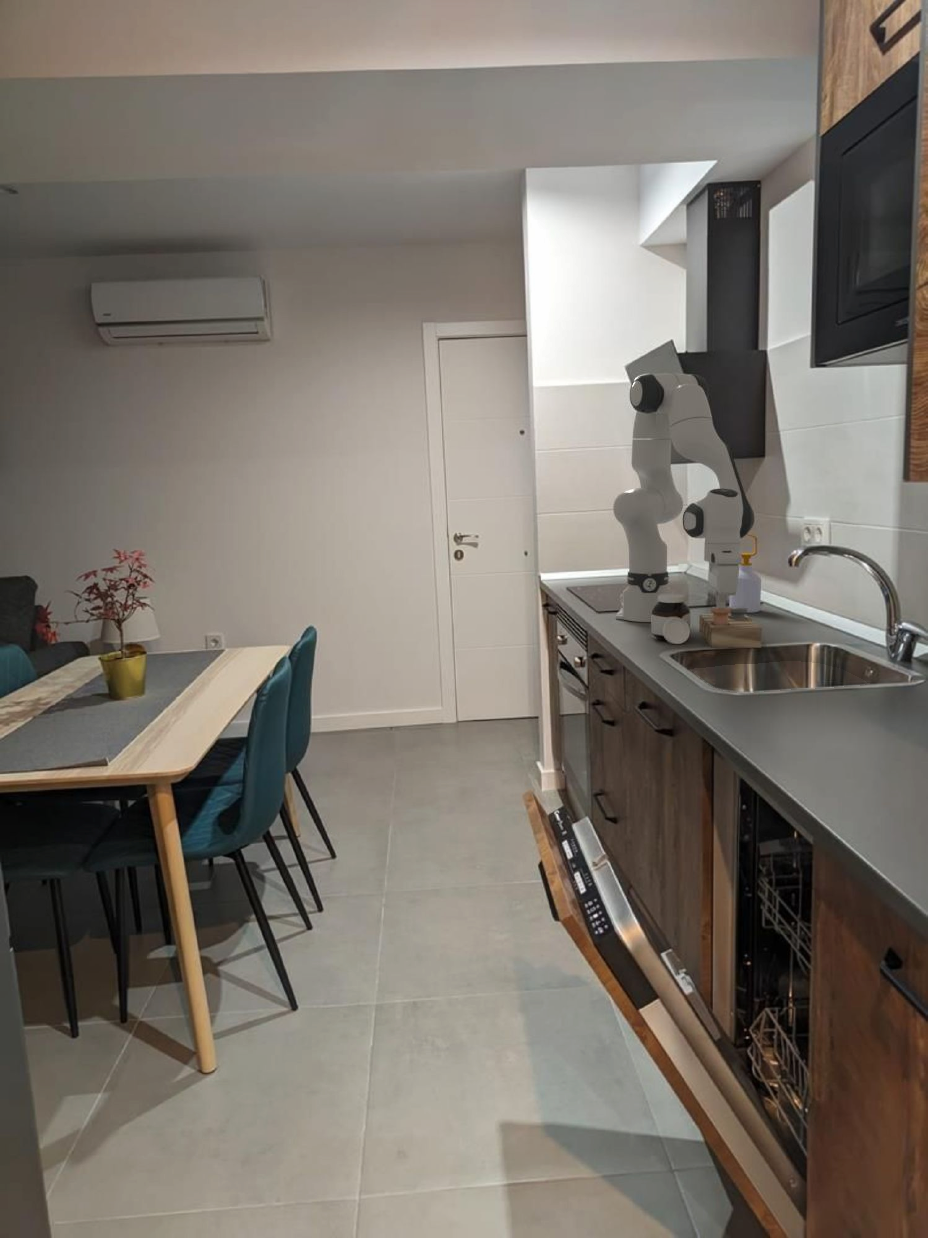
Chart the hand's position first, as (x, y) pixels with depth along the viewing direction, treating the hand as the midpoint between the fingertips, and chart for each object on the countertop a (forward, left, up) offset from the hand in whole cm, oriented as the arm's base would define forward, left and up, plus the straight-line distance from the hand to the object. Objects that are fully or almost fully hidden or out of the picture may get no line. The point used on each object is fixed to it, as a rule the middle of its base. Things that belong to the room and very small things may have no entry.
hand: (720, 607), depth 216 cm
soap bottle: (-48, +16, -9) cm, 52 cm away
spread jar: (-3, -11, -9) cm, 15 cm away
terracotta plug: (0, 0, -7) cm, 7 cm away
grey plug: (-9, +6, -9) cm, 14 cm away
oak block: (-4, +3, -9) cm, 11 cm away
